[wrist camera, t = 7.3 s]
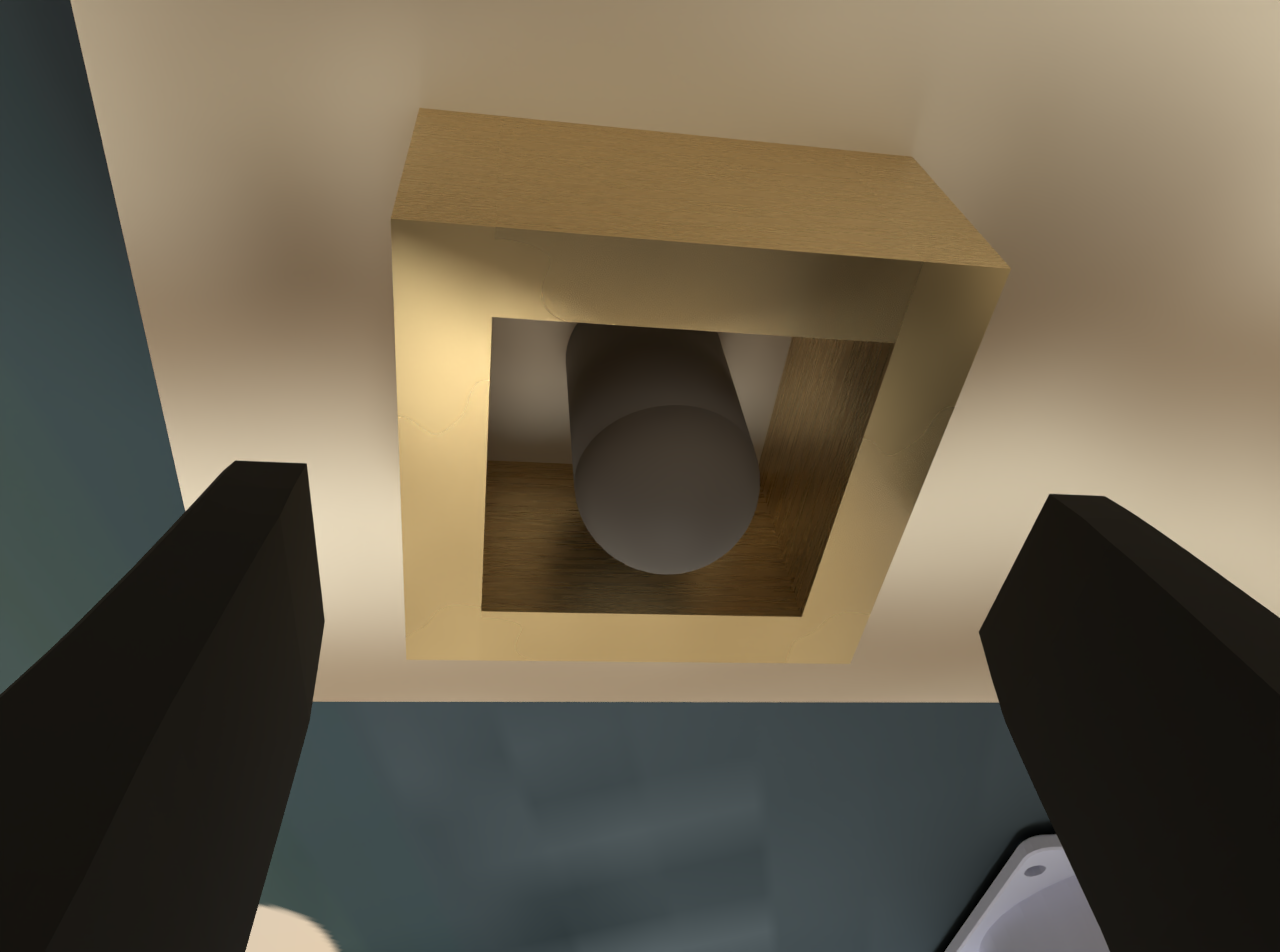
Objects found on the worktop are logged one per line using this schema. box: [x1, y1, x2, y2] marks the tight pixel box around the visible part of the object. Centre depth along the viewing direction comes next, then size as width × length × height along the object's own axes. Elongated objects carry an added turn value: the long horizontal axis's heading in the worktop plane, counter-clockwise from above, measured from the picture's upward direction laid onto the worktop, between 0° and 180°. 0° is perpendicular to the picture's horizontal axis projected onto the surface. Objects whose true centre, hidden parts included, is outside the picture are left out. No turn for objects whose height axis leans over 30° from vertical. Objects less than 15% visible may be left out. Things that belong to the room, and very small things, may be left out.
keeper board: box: [70, 0, 1280, 702], centre depth 12 cm, size 14×28×4 cm, turn 82°
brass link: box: [391, 108, 1011, 664], centre depth 11 cm, size 6×6×3 cm
